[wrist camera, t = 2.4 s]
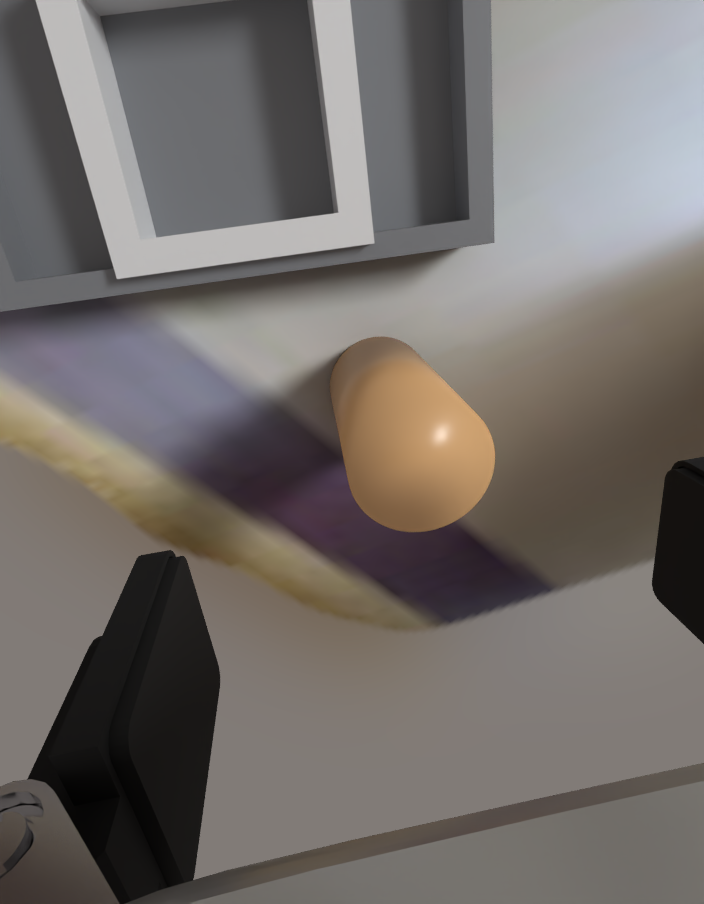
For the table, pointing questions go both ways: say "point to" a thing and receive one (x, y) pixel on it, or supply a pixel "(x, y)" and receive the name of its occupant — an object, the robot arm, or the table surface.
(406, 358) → the rounded peg
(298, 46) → the tray
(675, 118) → the table surface
